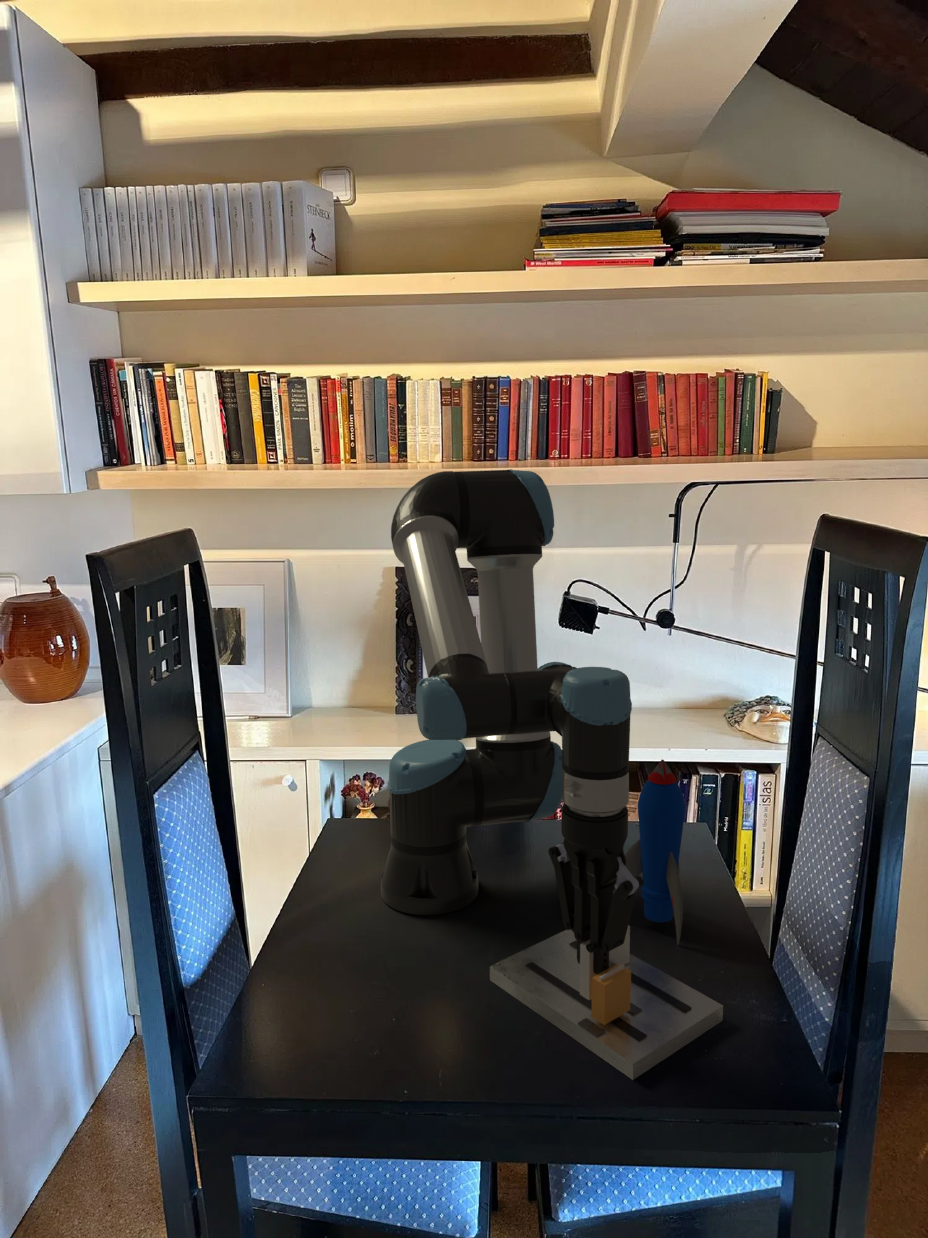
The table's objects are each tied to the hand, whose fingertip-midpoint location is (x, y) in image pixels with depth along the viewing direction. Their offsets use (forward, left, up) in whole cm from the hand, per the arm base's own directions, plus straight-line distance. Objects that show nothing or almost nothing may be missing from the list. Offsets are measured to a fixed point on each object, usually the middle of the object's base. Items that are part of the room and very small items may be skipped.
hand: (592, 993), depth 105 cm
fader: (+3, 0, -1) cm, 3 cm away
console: (-2, +4, -4) cm, 6 cm away
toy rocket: (-10, +22, -4) cm, 25 cm away
